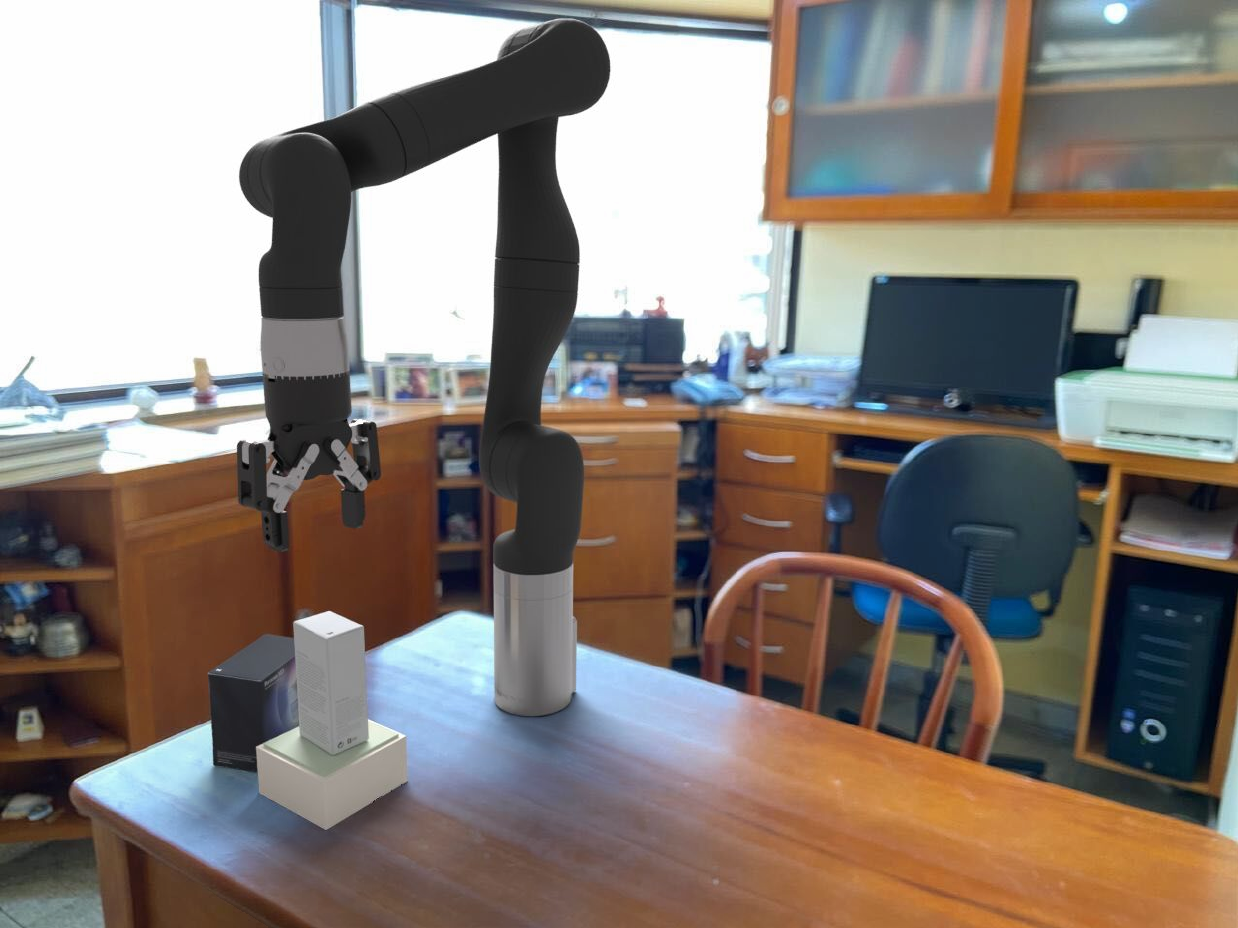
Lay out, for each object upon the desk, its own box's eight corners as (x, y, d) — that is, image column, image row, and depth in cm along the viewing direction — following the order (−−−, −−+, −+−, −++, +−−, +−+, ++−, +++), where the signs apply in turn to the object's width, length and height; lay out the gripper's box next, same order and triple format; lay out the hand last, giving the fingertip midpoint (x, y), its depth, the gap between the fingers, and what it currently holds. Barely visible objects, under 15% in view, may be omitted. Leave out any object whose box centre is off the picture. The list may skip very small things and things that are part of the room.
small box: (268, 776, 93) (261, 680, 90) (210, 767, 94) (202, 673, 92) (321, 725, 103) (317, 637, 100) (269, 718, 104) (263, 631, 102)
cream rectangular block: (341, 749, 98) (339, 704, 97) (407, 780, 92) (406, 732, 91) (259, 792, 90) (255, 743, 89) (325, 829, 84) (323, 778, 83)
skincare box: (370, 740, 90) (366, 625, 87) (332, 757, 87) (326, 639, 84) (335, 719, 94) (330, 608, 91) (297, 734, 90) (290, 621, 88)
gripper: (341, 357, 91) (350, 514, 95) (209, 371, 79) (225, 549, 83) (394, 363, 87) (401, 527, 91) (263, 379, 75) (277, 566, 79)
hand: (317, 537), depth 87 cm, fingers open, 8 cm apart
